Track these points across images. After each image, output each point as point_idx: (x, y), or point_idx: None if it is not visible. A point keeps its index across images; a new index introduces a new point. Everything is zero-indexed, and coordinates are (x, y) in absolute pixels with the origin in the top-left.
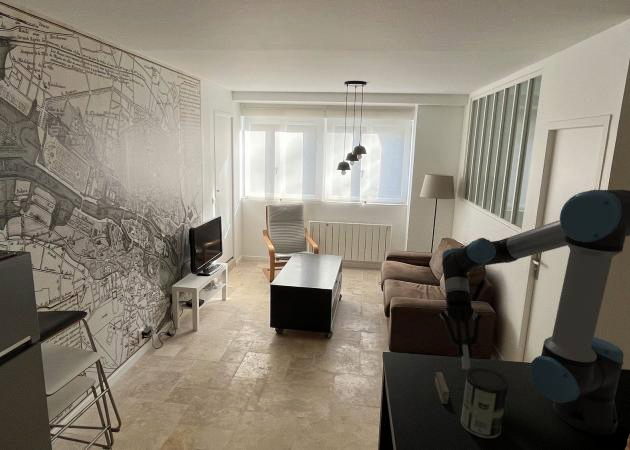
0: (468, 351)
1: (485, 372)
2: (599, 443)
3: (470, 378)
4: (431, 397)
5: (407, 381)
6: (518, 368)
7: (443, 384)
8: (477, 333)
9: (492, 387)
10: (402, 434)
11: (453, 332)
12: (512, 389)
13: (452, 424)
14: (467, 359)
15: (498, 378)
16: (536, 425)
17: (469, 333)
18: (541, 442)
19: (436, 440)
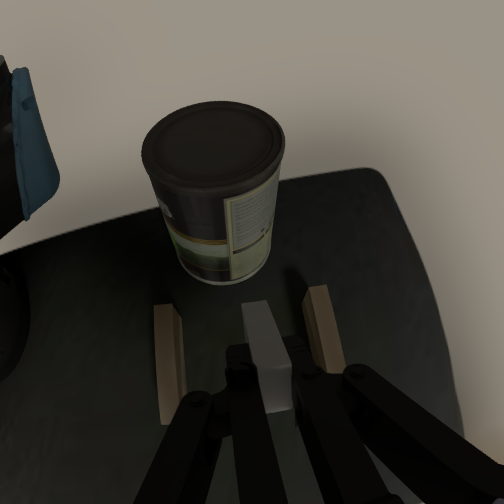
0: (246, 358)
1: (205, 169)
2: (14, 251)
3: (272, 127)
4: (346, 321)
5: (414, 376)
6: None
7: (327, 322)
8: (160, 452)
9: (209, 110)
10: (381, 184)
11: (381, 407)
12: (85, 425)
13: (291, 228)
14: (255, 318)
15: (168, 148)
16: (88, 274)
17: (236, 442)
18: (107, 224)
19: (322, 181)
